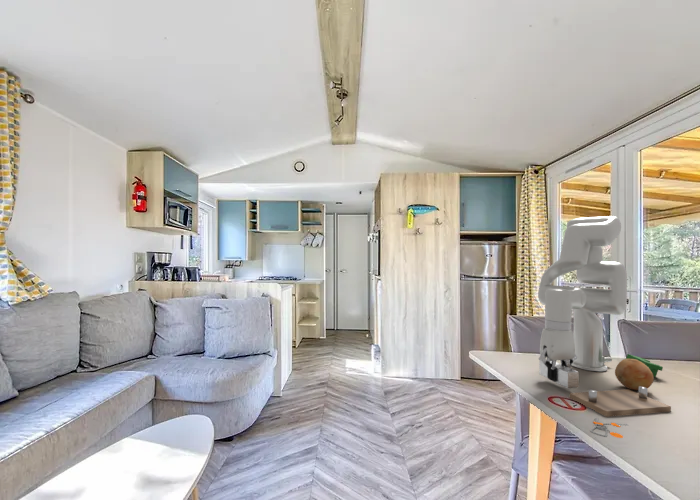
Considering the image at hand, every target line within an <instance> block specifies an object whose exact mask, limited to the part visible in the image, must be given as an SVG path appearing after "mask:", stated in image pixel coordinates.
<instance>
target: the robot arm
mask: <svg viewBox="0 0 700 500" xmlns="http://www.w3.org/2000/svg"><path fill="white" fill-rule="evenodd" d="M621 230H622V223H621V221H620V219H619V218H618V217H617V216H614V215H613V216H612V215H609V216H608V215H607V216H589V217H587V216H586V217H577V218H573V219H570V220H569V221H567V223H566V229H565V232H564V236H563V241H562V244H561V250H560V255H559V259H558V260H557V261H555V262H554V263H552V264H551V265H550V266H548V268H547V269H546V270H545V271H544V273H543V274H542V276H541V277H540V282H539V287H538V292H537V299H538V301H539V302H540V303H541V304H542V305H544V307H545V308H544V327H543V328H542V331H541V336H540V344H539V357H538V360H539V362H540V361H541V362H543V363H544V364H545V365H546V367H548V372H547V377H548V378H547V380H550V381H552V382H554V383H556V370H555V365H556V362H557V361H560V364H561V365H564V366H566V367H569V368H571V367H575V368H577V369H581V370H585V371H593V372H606V371H608V366H607V365H606V364H605V363H612V360H613V359H612V357H611V356H603V350H604V349H603V348H604V347H603V345H604V343H603V342H604V341H603V339H604V338H603V337H604V336H603V332H604V331H603V329H604V327H603V323H602V321H601V319H600V317H599V316H598V315H597V314H604V315H605V314H607V315H615V316H620V315H624V313H625V312H626V309H627V303H628V302H627V300H628V299H627V294H628V293H627V292H628V291H627V290H628V288H627V287H628V282H627V281H628V279H627V278H628V275H627V274H628V273H627V268H626V266H625V265H624V264H623V263H621V262H617V261H604V260H603V257H604V255H603V253H604V249H603V248H602V247H608V246H610V245H612V243H613V242H614V241H615V240H616V239H617V238H618V237H619V236H620V234H621ZM574 271H575V273H576V279H577V281H578V282H579V283H580V284H584V285H591V286H605V287H610V289H608V288H607V289H606V288H599V287H598V288H597V287H596V288H595V287H574V286H564V285H554V284H553V283H554V281H555V280H556V279H557V278H559V277H561V276H563V275H565V274H568V273H571V272H574ZM572 312H573V314H572ZM596 313H597V314H596ZM572 315H573V321H572ZM572 326H573V329H572ZM550 361H552V362H551V363H550ZM571 369H572V368H571Z"/></svg>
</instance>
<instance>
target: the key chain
mask: <svg viewBox="0 0 700 500" xmlns="http://www.w3.org/2000/svg"><path fill="white" fill-rule="evenodd" d="M593 420H594V421H593V422H592V423H593V424H594V427H592V428H591V429H590V432H591V433H592V434H594V435H597V436H601V437H604V438H607V436H608V434H609V435H610V436H612V437H614V438H617V439H623V438H624V436H623V435H622V434H620V433H617V432H615V433H614V431H613V432H611V431H610V430H609V429H608V426H607V425H609V426H613V427H615V426H616V427H615V428H621V427H622V426H621V425H625V426H624V427H626V426H629V424H628V423H616V422H611V423H606V422H605V423H602V422H601V421H600V419H599V418H596V417H594V419H593ZM617 424H618V425H617ZM619 425H620V426H619ZM596 428H597V429H598V430H601V431H604V432H605V435H604V434H600V433H597V432H595V431H594V430H596Z"/></svg>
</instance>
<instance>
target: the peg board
mask: <svg viewBox="0 0 700 500" xmlns="http://www.w3.org/2000/svg"><path fill="white" fill-rule="evenodd" d="M569 399H571V400H573V401H575V402H576V401H577V403H578V402H579V403H578V404H580V403H581V405H582V404H583V406H584V405H585V406H584V407H586V406H587V407H586V408H588V407H589V408H588V409H590V408H591V410H592V409H593V410H592V411H594V410H595V412H596V413H598V414H600V415H602V416H604V417H605V418H606V417H607V418H609V417H621V416H622V417H623V416H631V415H632V416H634V415H645V414H646V415H647V414H658V413H659V414H660V413H670V412H672V406H671V405H670V404H666V403H664V402H661V401H659V400H656V399H654V398H652V397H649V396H648V388H646V387H641V386H639V390H638V392H636V391H635V390H634V391H633V390H632V389H629V388H626V389H615V390H614V389H613V390H612V389H611V390H598V391H597V390H596V389H595V390H594V389H588V391H585V392H584V391H579V392H569Z"/></svg>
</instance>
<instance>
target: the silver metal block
mask: <svg viewBox="0 0 700 500" xmlns="http://www.w3.org/2000/svg"><path fill="white" fill-rule="evenodd" d="M551 362H552V361H550V363H551ZM555 370H556V382H555V383H557V384H558V385H560V386H562V387H564V388H566V389H576V388H579V387H580V383H579V379H580V378H579V377H580V375H579V374H580V372H579V371H577V370H576V369H573V368H569V367H566V366H564V365H561V363H559V362H557V361H556V365H555ZM538 372H539V375H540V376H543V377H545V378H547V379H548V377H547V372H548V367H546V365H545V364H544V363H543V362H541V361H540V360H539V371H538Z"/></svg>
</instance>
